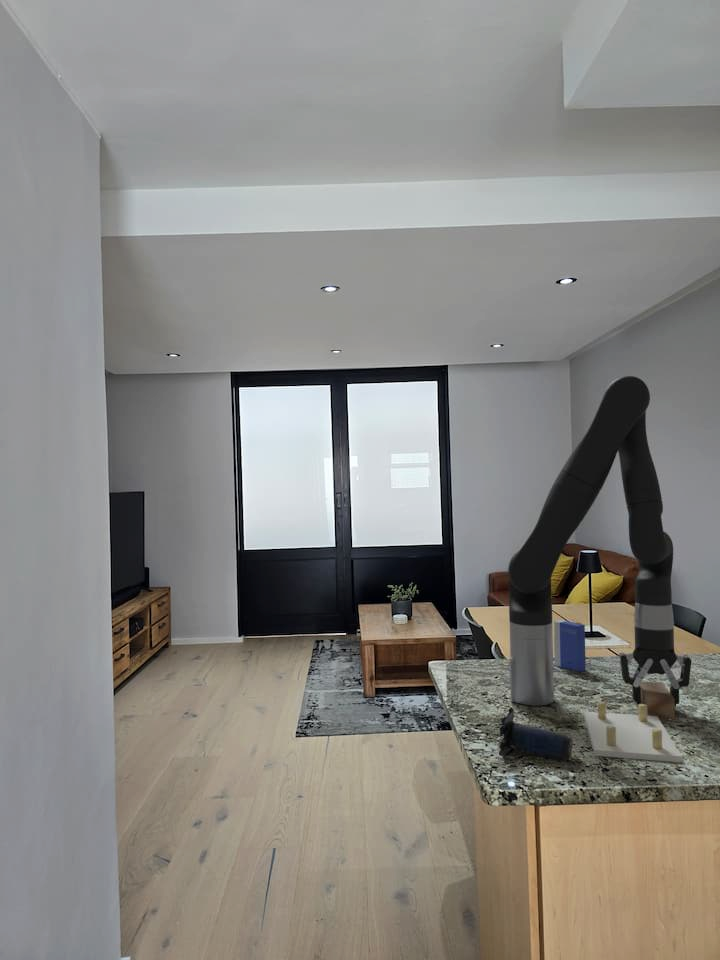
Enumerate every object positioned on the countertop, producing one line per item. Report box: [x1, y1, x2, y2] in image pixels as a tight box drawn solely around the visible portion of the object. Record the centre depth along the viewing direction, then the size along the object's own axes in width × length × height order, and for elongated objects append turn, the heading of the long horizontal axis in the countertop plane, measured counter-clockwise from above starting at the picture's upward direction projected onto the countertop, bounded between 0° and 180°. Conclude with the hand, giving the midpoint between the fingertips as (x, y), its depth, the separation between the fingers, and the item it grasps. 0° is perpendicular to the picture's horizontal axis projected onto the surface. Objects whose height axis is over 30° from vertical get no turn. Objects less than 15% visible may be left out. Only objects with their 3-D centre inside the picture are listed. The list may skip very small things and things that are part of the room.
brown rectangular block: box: [639, 681, 676, 721], centre depth 137 cm, size 5×11×4 cm, turn 166°
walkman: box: [553, 619, 587, 673], centre depth 170 cm, size 8×3×12 cm, turn 32°
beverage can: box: [498, 707, 574, 762], centre depth 116 cm, size 9×8×12 cm
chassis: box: [583, 701, 683, 763], centre depth 122 cm, size 14×20×4 cm
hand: (655, 704), depth 137 cm, fingers open, 6 cm apart
